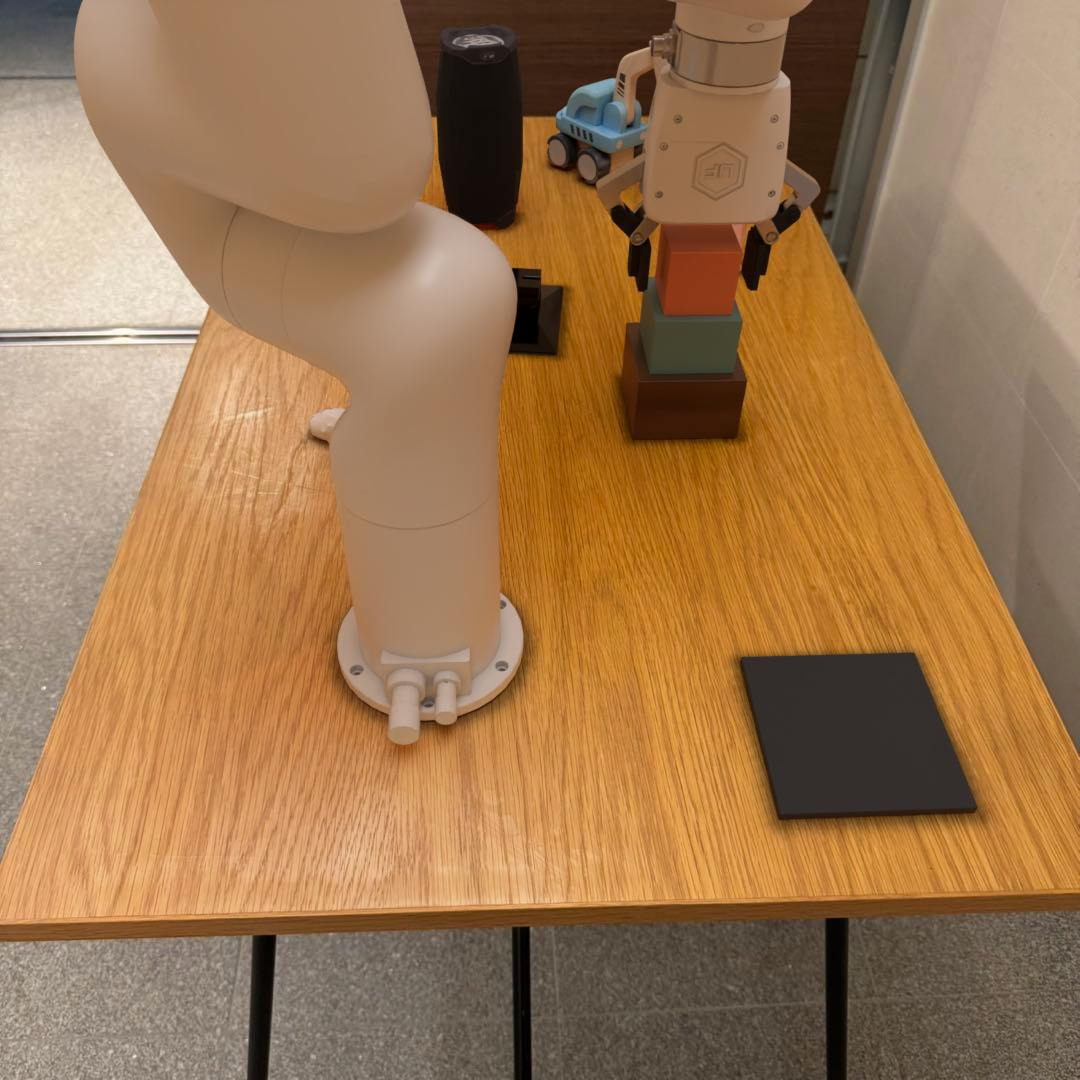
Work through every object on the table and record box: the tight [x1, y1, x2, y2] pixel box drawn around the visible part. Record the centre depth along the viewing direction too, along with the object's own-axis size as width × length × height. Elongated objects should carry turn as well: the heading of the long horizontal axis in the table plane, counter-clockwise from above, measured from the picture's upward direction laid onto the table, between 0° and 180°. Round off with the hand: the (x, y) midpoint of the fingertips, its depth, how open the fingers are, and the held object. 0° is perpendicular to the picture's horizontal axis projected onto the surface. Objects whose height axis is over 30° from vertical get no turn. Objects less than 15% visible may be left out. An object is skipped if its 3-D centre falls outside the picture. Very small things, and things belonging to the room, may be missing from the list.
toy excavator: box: [546, 40, 670, 185], centre depth 117 cm, size 9×17×17 cm, turn 43°
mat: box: [739, 651, 979, 820], centre depth 64 cm, size 12×12×1 cm
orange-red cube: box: [654, 223, 744, 316], centre depth 79 cm, size 6×6×6 cm
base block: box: [620, 321, 748, 440], centre depth 87 cm, size 9×9×6 cm
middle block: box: [639, 276, 744, 374], centre depth 83 cm, size 7×7×5 cm
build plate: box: [508, 267, 564, 356], centre depth 97 cm, size 12×7×5 cm, turn 176°
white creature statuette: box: [309, 397, 350, 444], centre depth 82 cm, size 10×9×12 cm
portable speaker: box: [435, 23, 524, 229], centre depth 108 cm, size 9×9×20 cm
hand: (694, 282), depth 80 cm, fingers open, 8 cm apart
